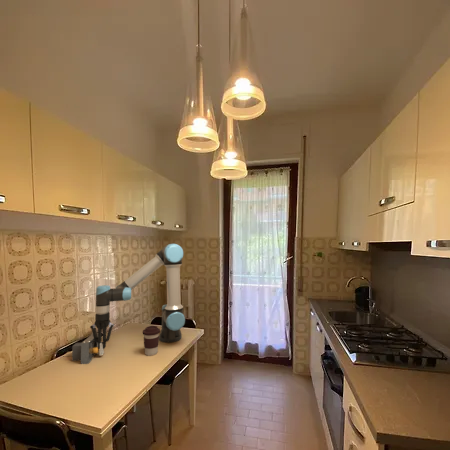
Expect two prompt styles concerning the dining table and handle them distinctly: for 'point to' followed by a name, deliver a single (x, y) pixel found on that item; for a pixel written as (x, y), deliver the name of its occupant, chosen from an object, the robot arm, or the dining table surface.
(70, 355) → the pad
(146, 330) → the coffee cup
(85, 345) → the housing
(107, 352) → the dining table surface
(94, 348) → the plug
